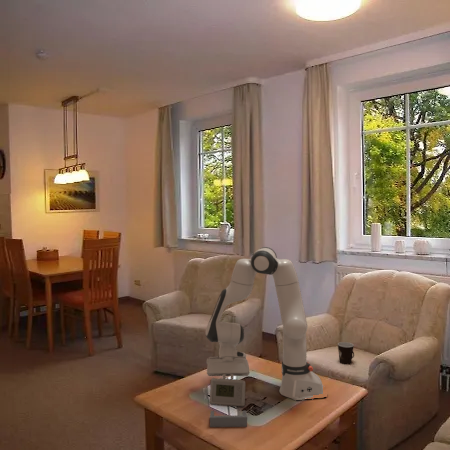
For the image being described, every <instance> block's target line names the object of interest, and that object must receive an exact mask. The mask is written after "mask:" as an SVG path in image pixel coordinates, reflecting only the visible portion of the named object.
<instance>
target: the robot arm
mask: <svg viewBox="0 0 450 450" xmlns="http://www.w3.org/2000/svg"><path fill="white" fill-rule="evenodd" d="M258 273H259V274H260V275H261V274H262V275H269V276H270V275H271V276H272V278H273V280H274V286H275V291H276V296H277V301H278V307H279V313H280V319H281V324H282V361H281V375H282V376H281V382H280V388H279V393H280V394H281V396H283V397H286V398H289V399H292V400H293V401H296V400H302V399H305V398H311V397H313V395H319V394H323V386H324V385H323V381H322V379H321V378H320V376H319V375H317V374H316V373H315V372H313V371H314V368H313V366H312V365H311V364H310V363H309V361H307V330H308V322H307V318H306V317H307V316H306V312H305V308H304V302H303V297H302V293H301V288H300V282H299V277H298V273H297V271H296V267H295V266H294V263H293V262H292V261H291V260H290V259H287V258H281V259H280V258H278V257H277V253H276V252H275V250H274V249H273V248H270V247H267V246H264V247H260V248H259V249H257V250H256V251H254V253H253V255H251V258H240V259H237V261H236V262H235V265H234V268H233V269H232V273H231V277H230V282H229V284H228V285H227V287H226V288H224V289H222V290H221V292H220V294H219V296H218V299H217V301H216V304H215V306H214V308H213V310H212V311H213V312H212V315H211V316H210V319H209V321H208V323H207V325H206V327H205V337H206V338H207V340H208V341H210V342H211V343H218V344H219V349H218V355H217V356H209V357H208V358H206V365H207V366H206V374H207V376H208V377H222V379H227V377H230V379H234V377H248V376H249V375H250V366H249V361H248V359H247V355H246V353H245V352H242V351H239V350H238V349H237V346H238V345H240V344H241V343H243V341H244V339H245V329H244V327H243V326H242V324H241V323H235V322H227V321H221V318H222V316H223V313H224V310H225V309H226V307H227V306H228V305H230V304H232V303H236V302H239V301H240V302H241V301H243V300H246V299H247V298H249V297H250V295H251V294H252V292H253V289H254V284H255V283H254V282H255V279H256V275H257V274H258ZM302 401H303V400H302Z"/></svg>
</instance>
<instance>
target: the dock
mask: <svg viewBox="0 0 450 450" xmlns="http://www.w3.org/2000/svg"><path fill="white" fill-rule="evenodd" d="M209 428H248V415H247V410H242V414H241V415H237V414H236V415H215V410H210V415H209Z"/></svg>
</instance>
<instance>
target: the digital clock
mask: <svg viewBox="0 0 450 450" xmlns="http://www.w3.org/2000/svg"><path fill="white" fill-rule="evenodd" d="M245 401H246V380H243V379H242V380H241V379H234V378H233V379H231V378H226V379H223V377H220V378H214V377H213V378H211V379H210V388H209V403H210V405H217V406H225V407H236V408H237V407H245V404H246V402H245Z"/></svg>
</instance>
